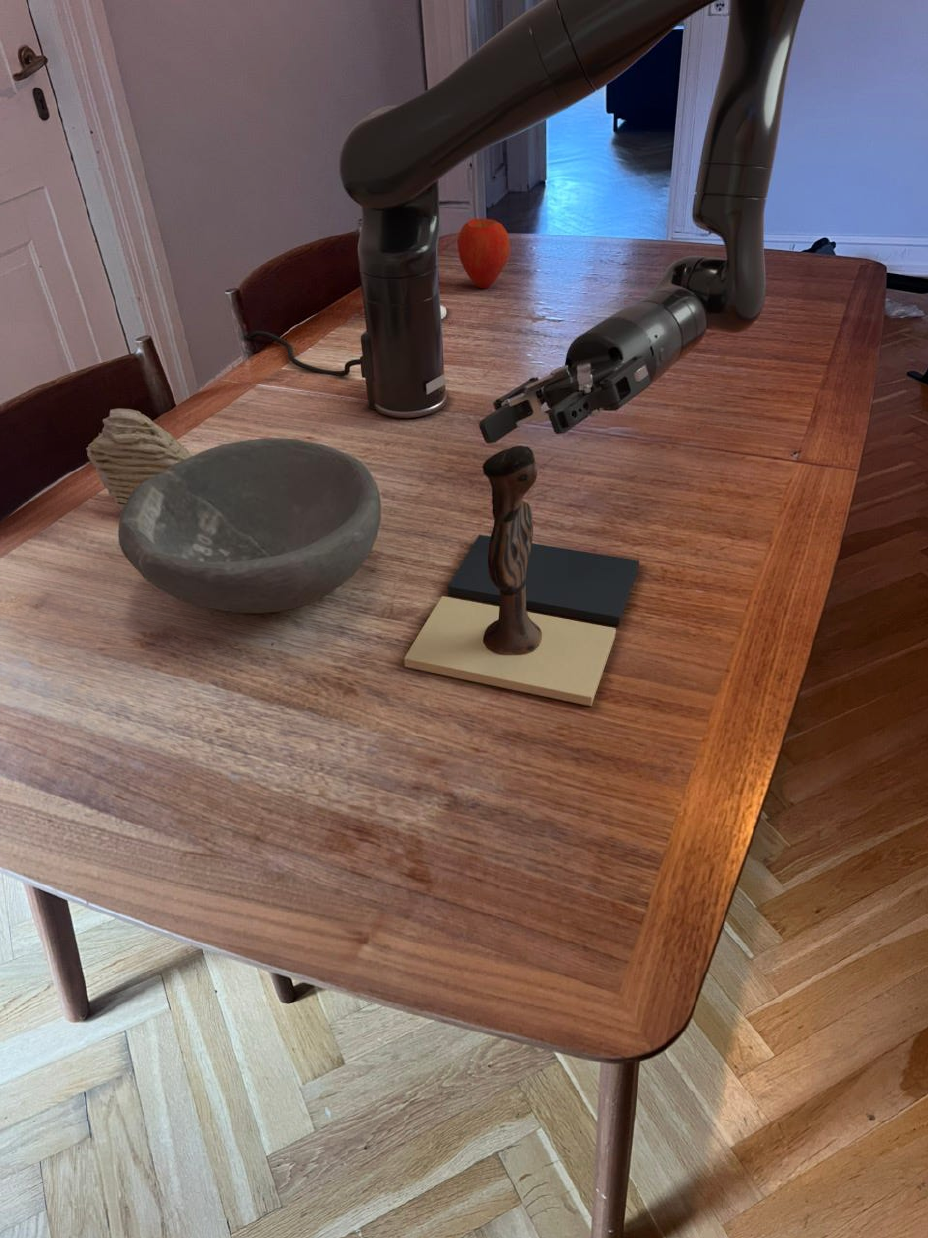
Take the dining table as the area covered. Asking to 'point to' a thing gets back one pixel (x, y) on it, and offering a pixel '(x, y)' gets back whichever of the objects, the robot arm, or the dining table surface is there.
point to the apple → (483, 250)
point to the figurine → (511, 550)
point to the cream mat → (551, 670)
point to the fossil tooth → (132, 452)
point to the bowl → (253, 525)
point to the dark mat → (555, 581)
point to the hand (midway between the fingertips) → (518, 428)
